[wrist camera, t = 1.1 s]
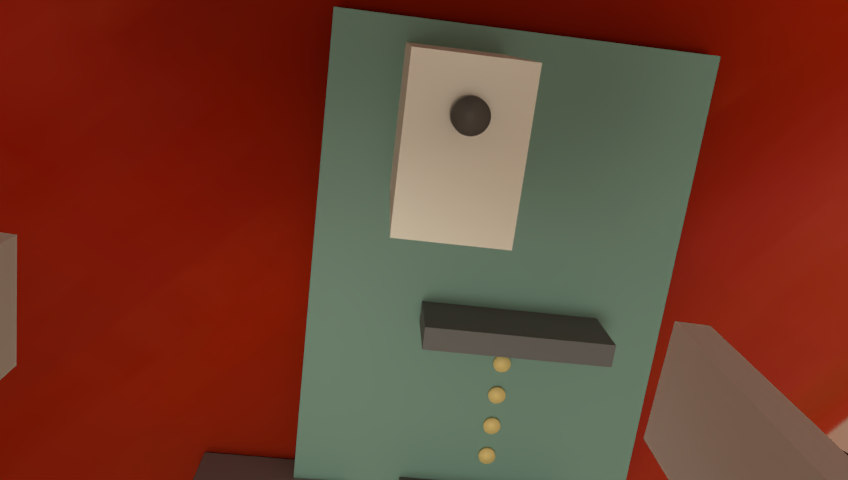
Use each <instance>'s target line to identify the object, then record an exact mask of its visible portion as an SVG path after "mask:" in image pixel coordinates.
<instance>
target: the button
mask: <svg viewBox="0 0 848 480" xmlns="http://www.w3.org/2000/svg"><path fill="white" fill-rule="evenodd" d="M294 466H295V460H294V459H282V458H269V457H257V456H245V455H233V454H220V453H208V452H205V453H204V456H203V458H202V460H201V463H200V465H199V467H198V469H197V472H196V474H195V476H194V479H193V480H319V479H307V478H294Z"/></svg>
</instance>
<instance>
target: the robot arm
mask: <svg viewBox="0 0 848 480" xmlns="http://www.w3.org/2000/svg"><path fill="white" fill-rule="evenodd" d="M16 318H17V235H15V234H8V233H0V380H1V379H2V378H3V377H4V376H5V375H6V374H7V373H8V372H9V371H10V370H12V369H13V368H14V367H15V366H16ZM644 440H645V442H646V443H647V445H648V447H649V448H650V450H651V451H652V453H653V455H654V456H655V458H656V460H657V461H658V463H659V465H660V466H661V468H662V469H663V471H664V473H665V474H666V476H667V478H668V479H669V480H848V453H846V452H845V451H843V450H841V449H840V448H839V447H838V446H837V445H836V444H835V443H834V442H833V441H832V440H831V439H830V438H829V437H828V436H826V435H825V434H824V433H823V432H822V431H821V430H820V429H819V428H818V427H817V426H816V425H815V424H814V423H813V422H812V421H811V420H810V419H808V418H807V417H806V416H805V415H804V414H803V413H802V412H801V411H800V410H799V409H798V408H797V407H796V406H795V405H794V404H793V403H792V402H790V401H789V400H788V399H787V398H786V397H785V396H784V395H783V394H782V393H781V392H780V391H779V390H778V389H777V388H776V387H775V386H774V385H772V384H771V383H770V382H769V381H768V380H767V379H766V378H765V377H764V376H763V375H762V374H761V373H760V372H759V371H758V370H757V369H755V368H754V367H753V366H752V365H751V364H750V363H749V362H748V361H747V360H746V359H745V358H744V357H743V356H742V355H741V354H740V353H739V352H737V351H736V350H735V349H734V348H733V347H732V346H731V345H730V344H729V343H728V342H727V341H726V340H725V339H724V338H723V337H722V336H721V335H719V334H718V333H717V332H716V331H715V330H714V329H713V328H712V327H711V326H707V325H700V324H692V323H684V322H677V321H675V323H674V327H673V330H672V334H671V338H670V342H669V345H668V349H667V353H666V357H665V360H664V364H663V368H662V372H661V375H660V379H659V383H658V387H657V390H656V394H655V398H654V402H653V405H652V409H651V413H650V417H649V420H648V424H647V428H646V432H645V435H644Z"/></svg>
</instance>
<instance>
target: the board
mask: <svg viewBox="0 0 848 480" xmlns="http://www.w3.org/2000/svg"><path fill="white" fill-rule="evenodd" d="M406 42H410V43H418V44H426V45H434V46H442V47H450V48H458V49H466V50H474V51H482V52H490V53H498V54H505V55H509V56H514V57H518V58H523V59H527V60H532V61H536V62H541V63H542V67H541V73H540V79H539V86H538V92H537V98H536V104H535V110H534V117H533V123H532V129H531V135H530V141H529V148H528V154H527V160H526V166H525V172H524V179H523V185H522V191H521V197H520V203H519V210H518V216H517V222H516V228H515V235H514V241H513V247H512V251H511V250H501V249H492V248H482V247H473V246H464V245H454V244H445V243H435V242H426V241H416V240H407V239H397V238H390V179H391V170H392V161H393V152H394V143H395V134H396V125H397V116H398V108H399V99H400V90H401V81H402V72H403V63H404V54H405V45H406ZM720 57H721V56H713V55H706V54H698V53H690V52H682V51H675V50H667V49H659V48H651V47H643V46H636V45H628V44H620V43H612V42H605V41H597V40H589V39H581V38H574V37H566V36H558V35H550V34H542V33H535V32H527V31H519V30H511V29H504V28H496V27H488V26H480V25H473V24H465V23H457V22H449V21H441V20H434V19H426V18H418V17H410V16H403V15H395V14H387V13H379V12H372V11H364V10H356V9H348V8H341V7H334V9H333V21H332V33H331V44H330V56H329V68H328V79H327V91H326V103H325V115H324V126H323V138H322V150H321V161H320V173H319V185H318V196H317V208H316V220H315V232H314V243H313V255H312V267H311V278H310V290H309V302H308V313H307V325H306V337H305V349H304V360H303V372H302V384H301V395H300V407H299V419H298V430H297V442H296V454H295V466H294V478H307V479H319V480H626V477H627V473H628V468H629V464H630V459H631V455H632V450H633V446H634V441H635V437H636V432H637V428H638V423H639V419H640V414H641V410H642V406H643V401H644V397H645V392H646V388H647V383H648V379H649V374H650V370H651V365H652V361H653V356H654V352H655V347H656V343H657V339H658V334H659V330H660V325H661V321H662V316H663V312H664V307H665V303H666V298H667V294H668V289H669V285H670V280H671V276H672V271H673V267H674V263H675V258H676V254H677V249H678V245H679V240H680V236H681V231H682V227H683V222H684V218H685V213H686V209H687V204H688V200H689V196H690V191H691V187H692V182H693V178H694V173H695V169H696V164H697V160H698V155H699V151H700V146H701V142H702V137H703V133H704V128H705V124H706V120H707V115H708V111H709V106H710V102H711V97H712V93H713V88H714V84H715V79H716V75H717V70H718V66H719V61H720Z"/></svg>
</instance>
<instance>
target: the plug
mask: <svg viewBox="0 0 848 480" xmlns="http://www.w3.org/2000/svg"><path fill="white" fill-rule="evenodd" d="M541 67H542V63H541V62H536V61H532V60H527V59H523V58H518V57H514V56H509V55H505V54H498V53H490V52H482V51H474V50H466V49H458V48H450V47H442V46H434V45H426V44H418V43H410V42H406V45H405V54H404V63H403V72H402V81H401V90H400V99H399V108H398V116H397V125H396V134H395V143H394V152H393V161H392V170H391V179H390V238H397V239H407V240H416V241H426V242H435V243H445V244H454V245H464V246H473V247H482V248H492V249H501V250H511V251H512V247H513V241H514V235H515V228H516V222H517V216H518V210H519V203H520V197H521V191H522V185H523V179H524V172H525V166H526V160H527V154H528V148H529V141H530V135H531V129H532V123H533V117H534V110H535V104H536V98H537V92H538V86H539V79H540V73H541Z"/></svg>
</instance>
